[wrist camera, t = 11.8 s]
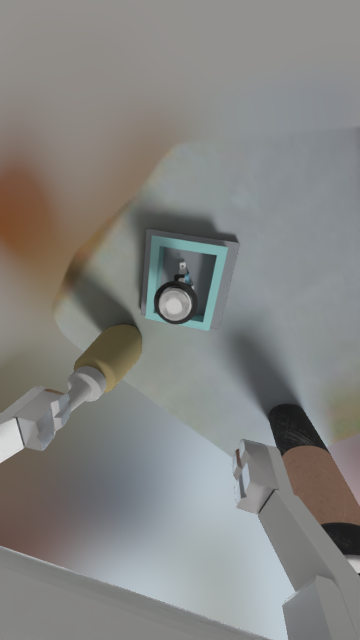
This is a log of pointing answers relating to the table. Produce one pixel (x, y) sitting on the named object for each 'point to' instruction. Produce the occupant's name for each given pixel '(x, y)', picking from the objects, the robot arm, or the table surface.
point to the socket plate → (201, 262)
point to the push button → (176, 299)
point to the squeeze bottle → (104, 363)
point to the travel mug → (317, 479)
